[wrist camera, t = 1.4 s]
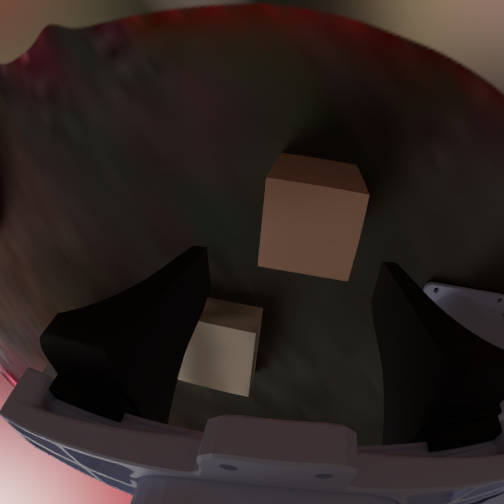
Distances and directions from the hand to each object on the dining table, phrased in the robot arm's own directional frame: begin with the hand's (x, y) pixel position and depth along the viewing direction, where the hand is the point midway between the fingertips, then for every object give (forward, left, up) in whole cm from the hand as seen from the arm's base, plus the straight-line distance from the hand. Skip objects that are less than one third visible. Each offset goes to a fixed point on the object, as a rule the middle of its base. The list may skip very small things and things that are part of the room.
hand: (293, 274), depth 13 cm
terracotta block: (0, 0, -10) cm, 10 cm away
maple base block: (+7, +15, -10) cm, 19 cm away
